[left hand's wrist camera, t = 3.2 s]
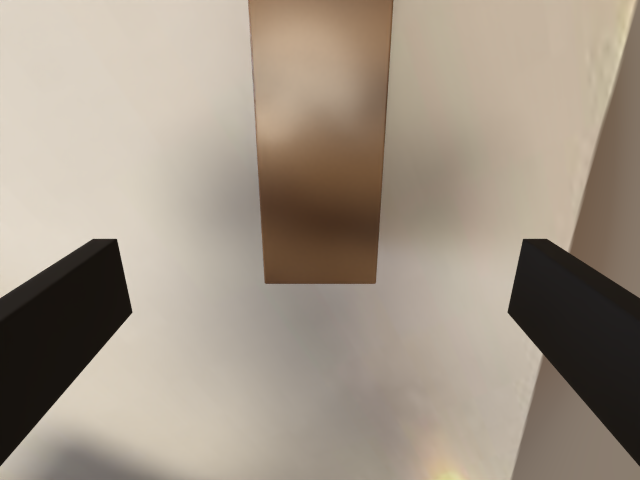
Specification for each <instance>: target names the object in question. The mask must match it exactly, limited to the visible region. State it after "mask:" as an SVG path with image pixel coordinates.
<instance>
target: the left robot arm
mask: <svg viewBox="0 0 640 480" xmlns="http://www.w3.org/2000/svg"><path fill="white" fill-rule="evenodd" d="M131 314H132V308H131V303H130V299H129V294H128V289H127V284H126V280H125V275H124V270H123V266H122V261H121V256H120V251H119V247H118V242H117V239H92V240H91V241H89V242H88V243H86V244H84V245H83V246H81V247H80V248H78V249H77V250H75V251H73V252H72V253H70V254H69V255H67V256H66V257H64V258H63V259H61V260H59V261H58V262H56V263H55V264H53V265H52V266H50V267H48V268H47V269H45V270H44V271H42V272H41V273H39V274H37V275H36V276H34V277H33V278H31V279H30V280H28V281H27V282H25V283H23V284H22V285H20V286H19V287H17V288H16V289H14V290H12V291H11V292H9V293H8V294H6V295H5V296H3V297H1V298H0V466H1V465H2V464H3V463H4V461H5V460H6V459H7V458H8V457H9V456H10V454H11V453H12V452H13V451H14V450H15V449H16V447H17V446H18V445H19V444H20V443H21V442H22V440H23V439H24V438H25V437H26V436H27V435H28V433H29V432H30V431H31V430H32V429H33V428H34V426H35V425H36V424H37V423H38V422H39V421H40V419H41V418H42V417H43V416H44V415H45V414H46V413H47V411H48V410H49V409H50V408H51V407H52V406H53V404H54V403H55V402H56V401H57V400H58V399H59V397H60V396H61V395H62V394H63V393H64V392H65V390H66V389H67V388H68V387H69V386H70V385H71V383H72V382H73V381H74V380H75V379H76V378H77V376H78V375H79V374H80V373H81V372H82V371H83V369H84V368H85V367H86V366H87V365H88V364H89V362H90V361H91V360H92V359H93V358H94V357H95V355H96V354H97V353H98V352H99V351H100V350H101V348H102V347H103V346H104V345H105V344H106V343H107V341H108V340H109V339H110V338H111V337H112V336H113V334H114V333H115V332H116V331H117V330H118V329H119V327H120V326H121V325H122V324H123V323H124V322H125V321H126V319H127V318H128V317H129V316H130V315H131ZM508 314H509V315H510V316H511V317H512V318H513V319H514V321H515V322H516V323H517V324H518V325H519V326H520V327H521V329H522V330H523V331H524V332H525V333H526V334H527V336H528V337H529V338H530V339H531V340H532V341H533V343H534V344H535V345H536V346H537V347H538V348H539V350H540V351H541V352H542V353H543V354H544V355H545V357H546V358H547V359H548V360H549V361H550V362H551V364H552V365H553V366H554V367H555V368H556V369H557V371H558V372H559V373H560V374H561V375H562V376H563V378H564V379H565V380H566V381H567V382H568V383H569V385H570V386H571V387H572V388H573V389H574V390H575V391H576V393H577V394H578V395H579V396H580V397H581V399H582V400H583V401H584V402H585V403H586V404H587V405H588V407H589V408H590V409H591V410H592V411H593V412H594V414H595V415H596V416H597V417H598V418H599V419H600V421H601V422H602V423H603V424H604V425H605V426H606V428H607V429H608V430H609V431H610V432H611V433H612V435H613V436H614V437H615V438H616V439H617V440H618V442H619V443H620V444H621V445H622V446H623V447H624V449H625V450H626V451H627V452H628V453H629V454H630V456H631V457H632V458H633V459H634V460H635V461H636V463H637V464H638V465H639V466H640V298H639V297H637V296H635V295H634V294H632V293H631V292H629V291H628V290H626V289H624V288H623V287H621V286H620V285H618V284H617V283H615V282H613V281H612V280H610V279H609V278H607V277H606V276H604V275H602V274H601V273H599V272H598V271H596V270H595V269H593V268H592V267H590V266H588V265H587V264H585V263H584V262H582V261H581V260H579V259H577V258H576V257H574V256H573V255H571V254H570V253H568V252H567V251H565V250H563V249H562V248H560V247H559V246H557V245H556V244H554V243H552V242H551V241H549V240H548V239H523V242H522V247H521V251H520V256H519V261H518V266H517V270H516V275H515V280H514V284H513V289H512V294H511V299H510V303H509V308H508Z"/></svg>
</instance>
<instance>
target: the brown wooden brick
mask: <svg viewBox="0 0 640 480" xmlns="http://www.w3.org/2000/svg"><path fill="white" fill-rule="evenodd" d="M248 6H249V23H250V40H251V57H252V74H253V91H254V109H255V126H256V143H257V160H258V177H259V194H260V211H261V228H262V245H263V262H264V279H265V283H266V284H375V283H376V272H377V256H378V239H379V223H380V207H381V191H382V175H383V159H384V143H385V126H386V110H387V94H388V78H389V62H390V46H391V30H392V13H393V0H248Z"/></svg>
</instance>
